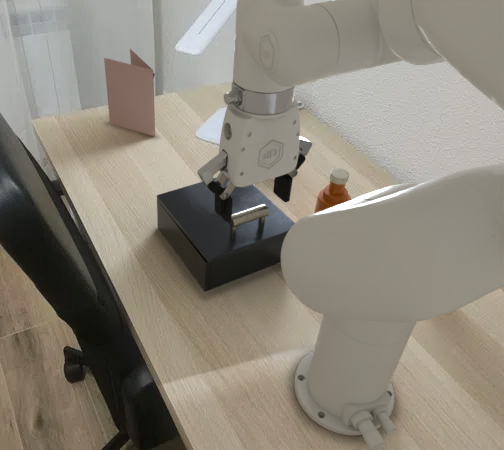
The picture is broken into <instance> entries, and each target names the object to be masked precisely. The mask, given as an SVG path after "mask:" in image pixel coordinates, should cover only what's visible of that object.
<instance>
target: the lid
mask: <svg viewBox="0 0 504 450" xmlns="http://www.w3.org/2000/svg"><path fill="white" fill-rule="evenodd" d="M216 178H217V176H216V177H213V179H214V180H215V179H216ZM228 181H229V179H228V178H227V179H226V181H225V182H224V183H223V185H222V186H223V187H225V185H226V184H227V182H228ZM230 196H231V197H232V217H231V221H229V222H226V221H225V220H224V219H223V218H222V217H221V216H220V215H218V214H217V213H216V212H215V209H214V203H215V193H213V192H212V191H210V190H209V189H208V188H207V187H206V186H205V185H204V183H203V181H200V182H197V183H194V184H189V185H187V186H183V187H180V188H177V189H176V188H175V189H173V190H169V191H167V192H163V193H160V194H156V201H157V200H158V201H159V202H160V203H161V205H162V206H163V207H164V208H165V210H166V211H167V212H168V213H169V215H170V216H171V217H172V218H173V220H174V221H175V222H176V223H177V225H178V226H179V227H180V228H181V229H182V231H183V232H184V233H185V234H186V236H187V237H188V238H189V239H190V241H191V242H192V243H193V244H194V246H195V247H196V248H197V249H198V250H199V252H200V253H201V254H202V255H203V257H204V258H205V259H206V260H207V262H208V263H212V262H214V261H217V260H220V259H223V258H225V257H228V256H231V255H234V254H236V253H239V252H242V251H245V250H247V249H250V248H253V247H256V246H258V245H261V244H264V243H267V242H269V241H272V240H275V239H277V238H280V237H283V236H286V234H287V233H288V231H289V230H290V228H291V227H292V226H293V225H294V224H295V223H296V222H294V221H293V220H292V219H291V218H290V217H289V216H288V215H287V214H286V213H285V212H284V211H282V209H281V208H279V207H278V206H277V205H276V204H275V203H274V201H272V200H271V199H269V197H267V196H266V194H264V192H262V191H261V190H260V189H259V188H258V187H257V186H256V185H255V184H253V185H250V186H246V187H235V188H234V190H233V191H232V193H231V194H230Z"/></svg>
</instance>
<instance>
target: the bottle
mask: <svg viewBox="0 0 504 450" xmlns="http://www.w3.org/2000/svg"><path fill="white" fill-rule="evenodd" d="M349 177H350V173H349V171H347V169H344V168H340V167H336V168H333V169H331V171H330V174H329V184H327V185H325V186H324V187H323V188H322V189H320V190H319V191H318V193H317V197H316V202H315V207H314V211H313V212H314V213H317V212H319V211H322V210H325V209H328V208H330V207H333V206H336V205H339V204H342V203H344V202H347V201H349V200H351V199H352V197H351V196H350V194H349V191H348V189H347V188H346V184H347V183H348V181H349ZM314 213H313V214H314Z"/></svg>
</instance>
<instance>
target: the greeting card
mask: <svg viewBox="0 0 504 450" xmlns="http://www.w3.org/2000/svg"><path fill="white" fill-rule="evenodd" d="M129 56H130V58H129V59H130V63H127V62H123V61H118V60H114V59H111V58H108V57H107V58H106V57H103V64H104V73H105V74H104V75H105V84H106V95H107V106H108V116H109V118H108V119H109V124H111V125H113V126H118V127H121V128H124V129H127V130H131V131H134V132H138V133H141V134H145V135H147V136H151V137H156V121H155V119H156V117H155V113H156V112H155V89H154V88H155V85H154V83H155V82H154V79H155V75H156V74H155V73H154V69H153V68H152V67H150V66H149V65H148V63H146V62H145V60H143V59H142V58H141V57H140V56H138V54H137V53H135V52H134V50H133V49H131V48H129Z"/></svg>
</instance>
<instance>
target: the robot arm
mask: <svg viewBox="0 0 504 450" xmlns="http://www.w3.org/2000/svg"><path fill="white" fill-rule="evenodd" d="M235 12H236V13H235V14H236V15H235V29H234V30H235V32H234V51H233V68H232V69H233V71H232V82H231V90H230V91H229V92H226V93H224V94H223V101H224V103H225V105H227V106H226V110H225V113H224V117H223V122H222V127H221V131H220V138H219V148H218V154H217V155H215V156H214V157H213V158H212V159H210V160H209V161H208V162H206V163H205V164H204V165H203V166H201V167H200V168H199V169H198V170H197V175H198V177H199V178H200V180H201V182H203V183H204V185H205V186H206V187H207V188H208V189H209V190H210V191H212V192H213V193H215V203H214V209H215V212H216V213H217V214H218V215H220V216H221V217H222V218H223V219H224V220H225V221H226V222H229V221H231V217H232V197H231V196H230V194H231V193H232V191H233V190H234V188H235V187H246V186H250V185H256V184H260V183H263V182H266V181H269V180H272V179H274V180H273V189H272V192H273V194H275V196H277V198H278V199H280V200H281V201H282V202H283V203H288V202H290V200H291V194H292V186H293V179H294V178H296V176H298V174H299V172H298V170H299V169H300V168H301V167H302V165H303V164H304V163H305V161H306V156H307V155H308V154H309V152H310V150H311V149H312V146H313V143H312V142H311V141H310V140H309V139H307V138H306V137H303V136H301V120H300V119H301V117H300V108H299V103H298V101H297V100H296V99H294V97H295V90H296V87H297V86H302V85H306V84H309V83H314V82H318V81H322V80H326V79H330V78H333V77H337V76H342V75H345V74H350V73H354V72H359V71H363V70H367V69H371V68H372V69H373V68H376V67H381V66H384V65H389V64H394V63H399V62H403V61H404V62H406V63H407V64H411V65H414V66H429V65H430V66H431V65H435V64H439V63H445V62H446V63H447V64H448V65H449V66H450V67H451V68H452V69H453V70H455V71H456V72H457V73H458V74H459V75H460V76H462V78H464V79H465V80H466V81H467V82H469V83H470V84H471V85H472V86H473V87H474V88H476V89H477V90H478V91H479V92H480V93H482V94H483V95H484V96H485V97H487V98H488V99H489V100H490V101H491V102H493V103H494V105H496V106H497V107H499V108H500V109H501V110H502V111H504V0H326V1H321V2H315V3H310V4H306V0H236V9H235ZM218 172H219V173H218ZM217 173H218V175H217V176H216V177H217V178H216V177H215V178H216V179H215V180H214V179H213V178H214V176H215V174H217ZM227 178H228V179H229V181H228V182H227V184H226V185H225V187H223V186H222V185H223V183H224V182H225V181H226V179H227ZM294 223H295V224H294V225H293V226H292V227H291V228H290V230H289V231H288V233H287V234H286V236H285V238H284V241H283V244H282V248H281V263H280V268H281V273H282V276H283V279H284V281H285V282H286V285H287V287H288V289H289V290H290V291H291V293H292V294H293V295H294V297H295V298H296V299H297V300H299V301H300V302H301V303H302V304H303V305H304V306H306V307H307V308H309V309H310V310H312V311H313V312H315V313H318V314H320V315H322V319H321V323H320V327H319V330H318V334H317V337H316V341H315V346H314V349H313V350H312V351H311V352H308V353H307V354H306V355H305V356H304V357H303V358H302V359H301V360H300V362H299V363H298V366H297V368H296V370H295V375H294V377H293V378H294V381H293V382H294V383H293V387H294V393H295V397H296V399H297V402H298V404H299V405H300V407H301V408H302V410H303V411H304V413H306V415H307V416H308V417H309V418H310V419H311V420H312V421H314V422H315V423H316V424H318V425H319V426H321V427H322V428H324V429H326V430H328V431H330V432H333V433H335V434H339V435H345V436H362V438H363V440H364V442H365V443H366V445H367V447H368V448H369V450H383V449H384V448H385V447H386V446H387V443H386V440H385V439H384V438H383V436H382V435H381V433H380V431H379V429H380V428H381V429H382V430H383V432H384V433H385V435H386V436H391V435H393V434H395V433H396V432H397V430H398V429H397V427H396V426H395V424H394V422H393V421H392V419H391V418H390V417H391V415H392V413H393V410H394V407H395V400H396V397H395V389H394V386H393V383H392V379H393V376H394V374H395V372H396V369H397V368H398V365H399V363H400V360H401V358H402V356H403V353H404V351H405V349H406V347H407V344H408V341H409V339H410V338H411V335H412V333H413V331H414V329H415V326H416V324H417V323H418V322H424V321H429V320H432V319H437V318H439V317H442V316H445V315H448V314H451V313H452V312H454V311H458V310H459V309H462V308H463V307H466V306H467V305H469V304H472V303H473V302H475V301H477V300H479V299H481V298H483V297H486V296H487V295H489V294H491V293H493V292H495V291H497V290H500V289H502V288H504V162H500V163H495V164H489V165H484V166H476V167H471V168H470V167H469V168H466V169H462V170H458V171H455V172H450V173H447V174H444V175H441V176H438V177H435V178H433V179H430V180H427V181H425V182H422V183H415V182H409V183H408V182H404V183H399V184H392V185H388V186H385V187H382V188H379V189H376V190H373V191H370V192H367V193H364V194H362V195H359V196H357V197H354V198H353V197H352V198H351V200H349V201H347V202H344V203H342V204H339V205H336V206H333V207H330V208H328V209H325V210H322V211H319V212H317V213H312V214H308V215H306V216H304V217H302V218H300V219H299V220H297V221H296V222H294Z"/></svg>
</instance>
